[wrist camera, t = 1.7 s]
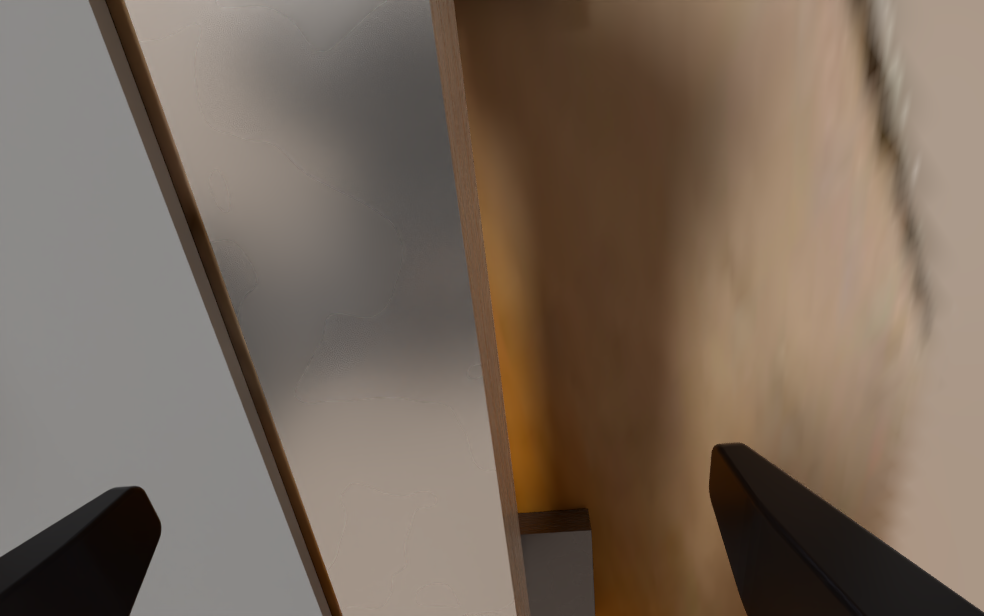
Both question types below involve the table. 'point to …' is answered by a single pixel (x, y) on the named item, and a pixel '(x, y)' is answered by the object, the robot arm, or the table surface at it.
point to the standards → (558, 562)
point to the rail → (356, 279)
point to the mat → (123, 335)
